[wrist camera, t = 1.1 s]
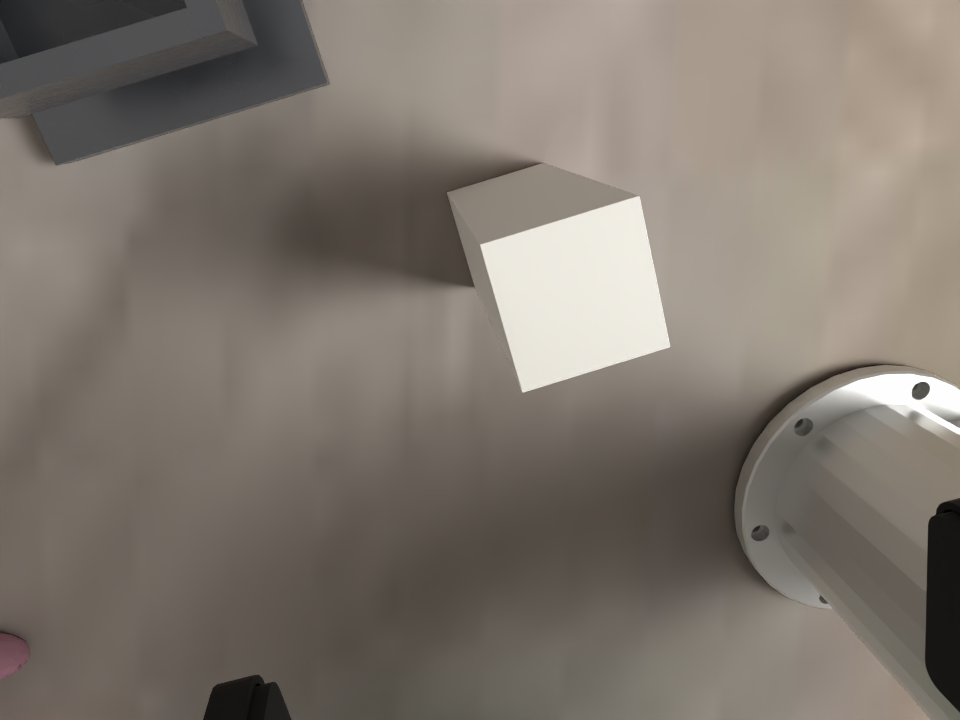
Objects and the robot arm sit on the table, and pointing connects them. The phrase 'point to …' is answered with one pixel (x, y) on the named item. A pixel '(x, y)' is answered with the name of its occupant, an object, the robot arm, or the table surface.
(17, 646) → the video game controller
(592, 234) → the rail post
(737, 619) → the table surface
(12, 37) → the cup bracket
